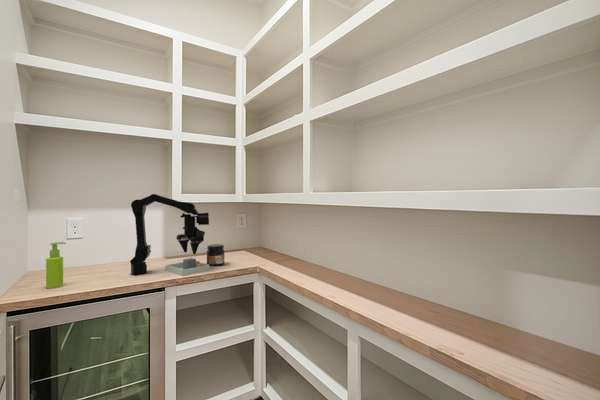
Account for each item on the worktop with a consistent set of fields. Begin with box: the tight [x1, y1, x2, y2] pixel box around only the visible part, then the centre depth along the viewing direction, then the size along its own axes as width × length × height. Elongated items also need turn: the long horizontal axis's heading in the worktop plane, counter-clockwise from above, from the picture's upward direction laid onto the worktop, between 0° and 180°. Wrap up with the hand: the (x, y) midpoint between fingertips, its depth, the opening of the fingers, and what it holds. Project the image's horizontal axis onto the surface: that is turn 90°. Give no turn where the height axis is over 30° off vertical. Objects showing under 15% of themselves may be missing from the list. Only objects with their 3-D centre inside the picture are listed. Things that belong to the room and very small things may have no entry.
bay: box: [164, 261, 210, 277], centre depth 155 cm, size 16×19×4 cm
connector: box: [182, 257, 201, 270], centre depth 157 cm, size 8×4×6 cm, turn 141°
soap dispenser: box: [45, 241, 67, 289], centre depth 129 cm, size 6×7×20 cm
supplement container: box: [206, 243, 226, 267], centre depth 170 cm, size 10×10×12 cm
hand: (190, 253), depth 156 cm, fingers open, 9 cm apart
